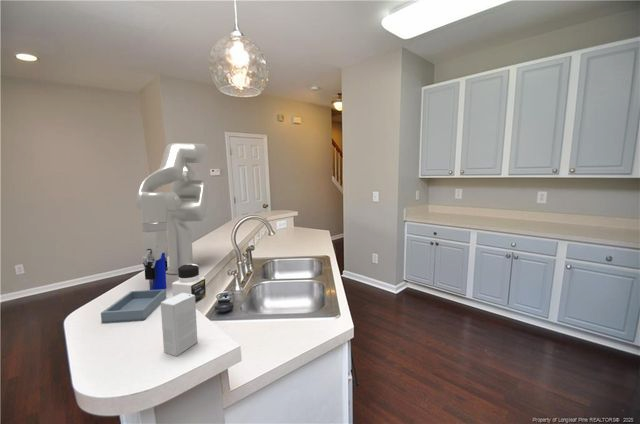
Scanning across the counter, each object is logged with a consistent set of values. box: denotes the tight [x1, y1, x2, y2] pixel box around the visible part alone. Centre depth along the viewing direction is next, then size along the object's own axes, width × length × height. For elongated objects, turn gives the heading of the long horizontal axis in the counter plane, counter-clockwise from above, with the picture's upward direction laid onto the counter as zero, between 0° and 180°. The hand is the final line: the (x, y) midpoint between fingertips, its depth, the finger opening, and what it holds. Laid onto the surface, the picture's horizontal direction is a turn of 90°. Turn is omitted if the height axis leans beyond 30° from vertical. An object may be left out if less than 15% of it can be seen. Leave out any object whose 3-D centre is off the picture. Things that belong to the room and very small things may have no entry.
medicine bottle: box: [171, 263, 207, 305], centre depth 87 cm, size 7×7×12 cm
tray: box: [100, 288, 167, 324], centre depth 82 cm, size 16×11×3 cm
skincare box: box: [160, 293, 198, 357], centre depth 62 cm, size 6×4×12 cm
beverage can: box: [148, 250, 167, 290], centre depth 96 cm, size 5×5×15 cm
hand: (157, 274), depth 96 cm, fingers open, 9 cm apart
